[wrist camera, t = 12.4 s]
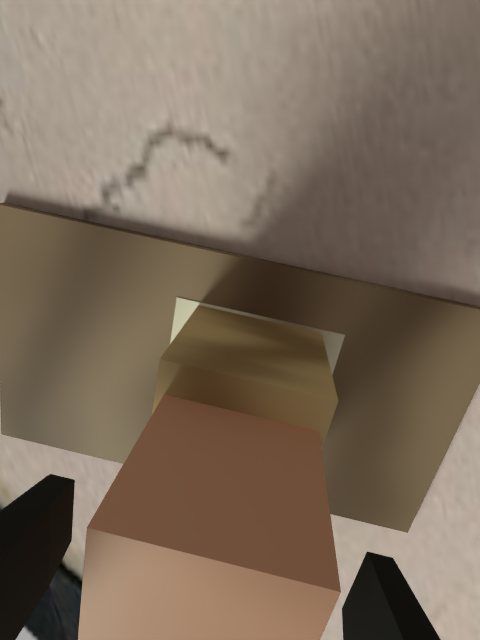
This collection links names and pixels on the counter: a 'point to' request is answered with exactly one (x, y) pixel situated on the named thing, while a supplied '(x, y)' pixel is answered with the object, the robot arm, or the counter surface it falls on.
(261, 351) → the oak block
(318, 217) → the counter surface
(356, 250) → the counter surface
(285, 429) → the terracotta cube
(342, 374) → the brown wooden board
